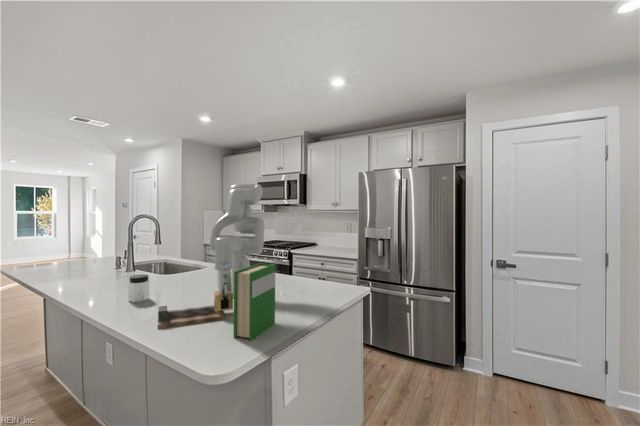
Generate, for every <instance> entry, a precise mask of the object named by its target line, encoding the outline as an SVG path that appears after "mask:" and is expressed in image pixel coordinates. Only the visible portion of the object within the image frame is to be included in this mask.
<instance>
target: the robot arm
mask: <svg viewBox="0 0 640 426" xmlns="http://www.w3.org/2000/svg"><path fill="white" fill-rule="evenodd" d="M228 192H229V194H228V196H227V197H228V198H227V203H226V209H225V213H224V214H223V216H222V217H221V218H219V220H217V221H216V223H215V224H214V225H213V227H212V230H211V234H210V237H209V246H210V247H209V248H210V249H211V251H213V252H214V270H215V271H217V272H216V273H217V274H216V275H217V279H216V281H217V290H218V291H219V292H220V293H221V297H222V299H221V309H226V308H229V297H228V290H229V292H231V291H232V293H233V299H234V271H237V270H240V269H243V268H246V267H249V266H251V265H250V264H251V262H250V259H249V257H248V256H247V255H260V254H261V253H262V252H263V249H264V244H265V243H264V242H265V241H264V240H265V239H264V238H265V221H264V219H263V218H262V217H260V216H252V207H251V206H255V205H257V204H258V203H259V202H260V200H261V199H262V197H263V193H264V190H263V187H262V185H261V184H259V183H236V184H233V185H231V186H230V188H229V191H228ZM231 225H234V226H233V227H234V232H235V233H237V234H239V235H227V234H224V235H223V234H221V232H222V231H223V230H224V229H226V228H227V227H229V226H231ZM242 235H243V236H242ZM246 235H247V236H246ZM248 235H249V236H248ZM250 235H254V236H250ZM223 291H224V292H223ZM223 294H224V295H223Z"/></svg>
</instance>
